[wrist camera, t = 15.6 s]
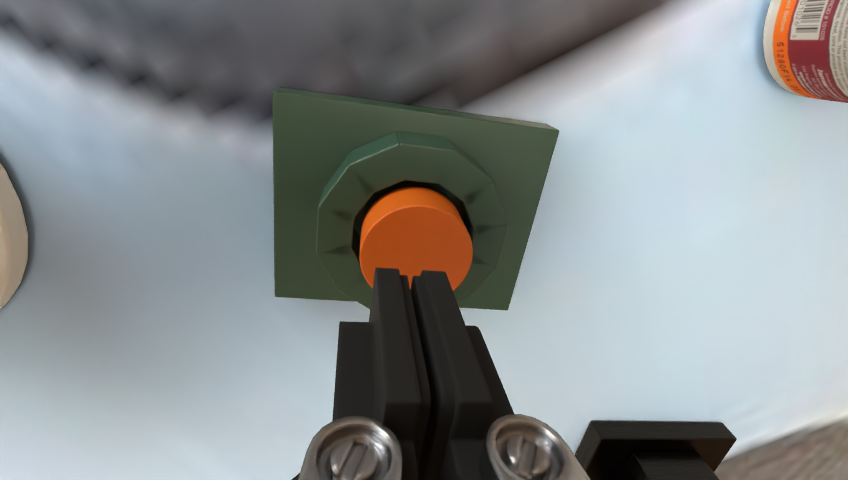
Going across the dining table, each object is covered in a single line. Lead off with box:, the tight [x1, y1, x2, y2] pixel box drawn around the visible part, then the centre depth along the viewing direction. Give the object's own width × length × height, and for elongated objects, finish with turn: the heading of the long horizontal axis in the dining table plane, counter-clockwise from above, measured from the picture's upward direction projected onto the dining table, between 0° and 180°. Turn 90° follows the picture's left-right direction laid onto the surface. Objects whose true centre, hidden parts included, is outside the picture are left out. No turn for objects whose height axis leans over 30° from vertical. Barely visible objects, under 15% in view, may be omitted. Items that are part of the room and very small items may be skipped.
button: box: [359, 187, 473, 291], centre depth 14 cm, size 4×4×2 cm
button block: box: [273, 87, 559, 310], centre depth 15 cm, size 10×8×3 cm
